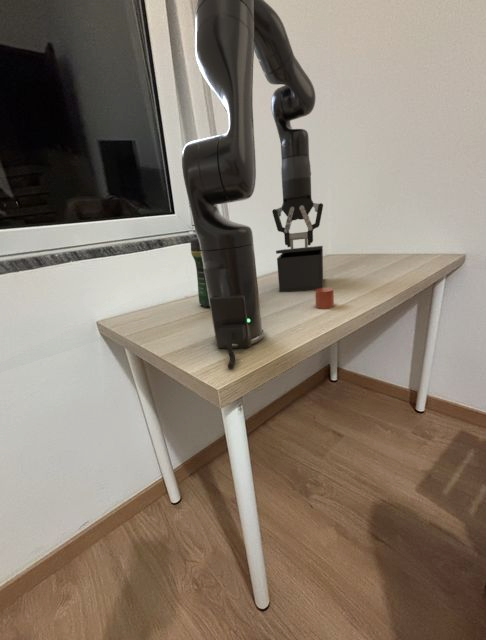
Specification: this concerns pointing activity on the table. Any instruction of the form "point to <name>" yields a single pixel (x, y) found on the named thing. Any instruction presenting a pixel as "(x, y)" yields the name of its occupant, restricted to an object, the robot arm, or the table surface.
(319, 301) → the red cylinder
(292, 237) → the lid
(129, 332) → the table surface
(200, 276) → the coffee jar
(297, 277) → the black open box
